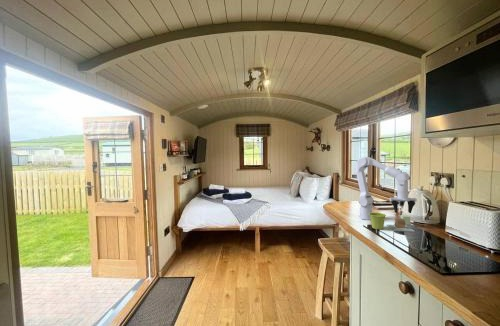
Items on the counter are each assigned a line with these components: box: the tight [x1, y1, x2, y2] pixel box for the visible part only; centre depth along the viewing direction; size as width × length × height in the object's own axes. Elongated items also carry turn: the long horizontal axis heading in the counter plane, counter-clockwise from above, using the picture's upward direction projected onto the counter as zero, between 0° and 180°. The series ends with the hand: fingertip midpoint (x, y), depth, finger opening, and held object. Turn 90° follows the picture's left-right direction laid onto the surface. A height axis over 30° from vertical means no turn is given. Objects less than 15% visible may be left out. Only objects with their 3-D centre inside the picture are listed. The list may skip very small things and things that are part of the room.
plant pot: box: [369, 212, 387, 230], centre depth 138 cm, size 9×9×9 cm
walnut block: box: [394, 217, 406, 228], centre depth 136 cm, size 4×4×5 cm
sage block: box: [399, 214, 411, 225], centre depth 146 cm, size 4×4×5 cm
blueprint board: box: [386, 224, 416, 233], centre depth 136 cm, size 11×11×1 cm
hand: (402, 212), depth 141 cm, fingers open, 7 cm apart
